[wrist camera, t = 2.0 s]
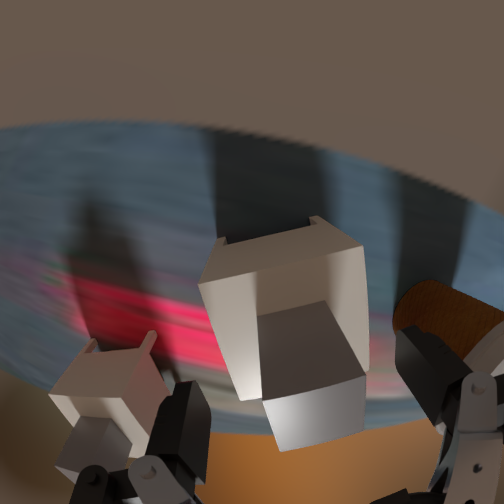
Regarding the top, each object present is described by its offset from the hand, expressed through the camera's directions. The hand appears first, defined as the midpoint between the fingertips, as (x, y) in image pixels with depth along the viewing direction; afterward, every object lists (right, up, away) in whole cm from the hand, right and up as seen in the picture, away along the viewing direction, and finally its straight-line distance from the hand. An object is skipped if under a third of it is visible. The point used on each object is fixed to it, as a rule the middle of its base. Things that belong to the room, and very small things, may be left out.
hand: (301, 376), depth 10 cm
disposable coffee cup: (+13, -1, +12) cm, 18 cm away
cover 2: (0, +3, +10) cm, 11 cm away
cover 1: (-12, -6, +12) cm, 18 cm away
